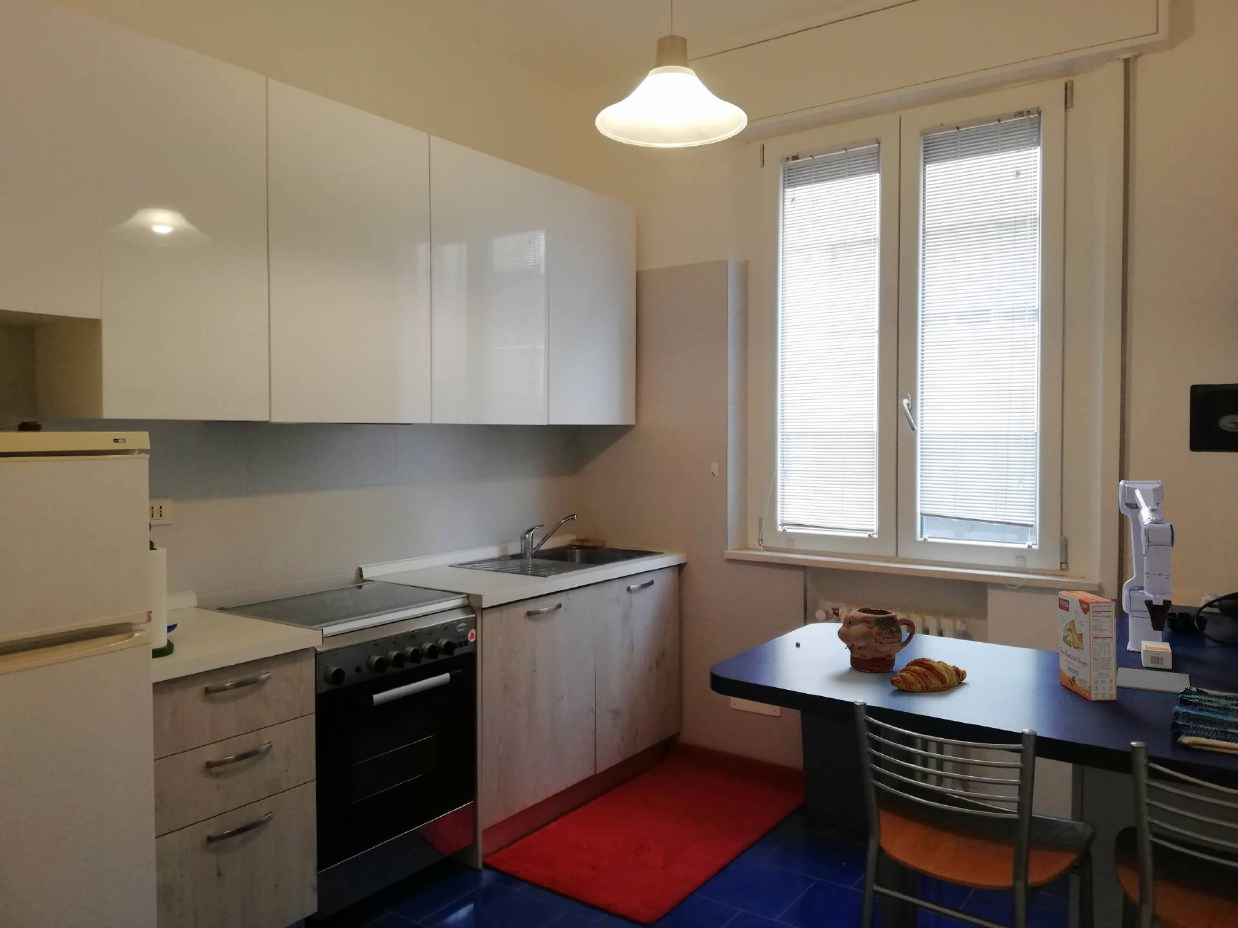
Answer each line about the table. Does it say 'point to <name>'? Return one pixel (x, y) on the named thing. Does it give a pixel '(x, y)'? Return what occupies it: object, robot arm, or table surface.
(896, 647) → the brown sculpted mug
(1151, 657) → the skincare box
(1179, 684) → the rubber mat
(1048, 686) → the table surface
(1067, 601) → the cracker box
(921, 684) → the croissant
